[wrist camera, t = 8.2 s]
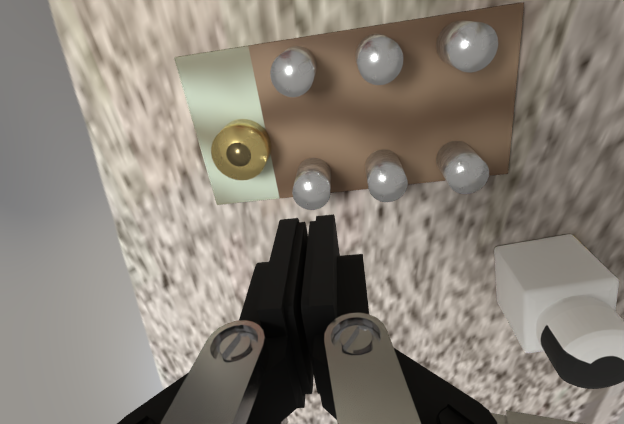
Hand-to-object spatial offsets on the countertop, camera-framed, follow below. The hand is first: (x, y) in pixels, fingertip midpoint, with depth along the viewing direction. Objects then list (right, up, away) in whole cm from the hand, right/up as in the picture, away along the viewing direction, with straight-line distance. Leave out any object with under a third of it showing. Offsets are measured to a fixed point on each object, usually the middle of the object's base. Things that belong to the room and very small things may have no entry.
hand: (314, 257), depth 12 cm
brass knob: (-6, +7, +21) cm, 23 cm away
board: (+2, +9, +20) cm, 22 cm away
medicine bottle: (+22, -4, +26) cm, 35 cm away
